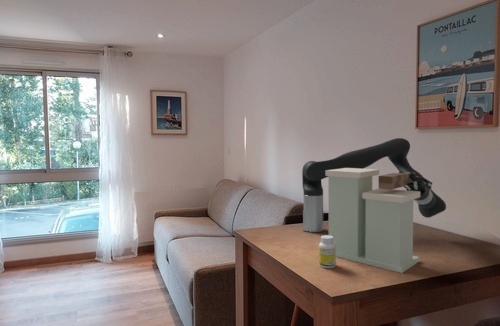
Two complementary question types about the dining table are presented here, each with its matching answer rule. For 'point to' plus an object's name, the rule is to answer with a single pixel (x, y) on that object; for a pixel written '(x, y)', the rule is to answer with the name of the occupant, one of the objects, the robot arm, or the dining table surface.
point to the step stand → (370, 220)
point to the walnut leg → (394, 180)
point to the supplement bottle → (327, 252)
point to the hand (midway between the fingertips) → (405, 174)
